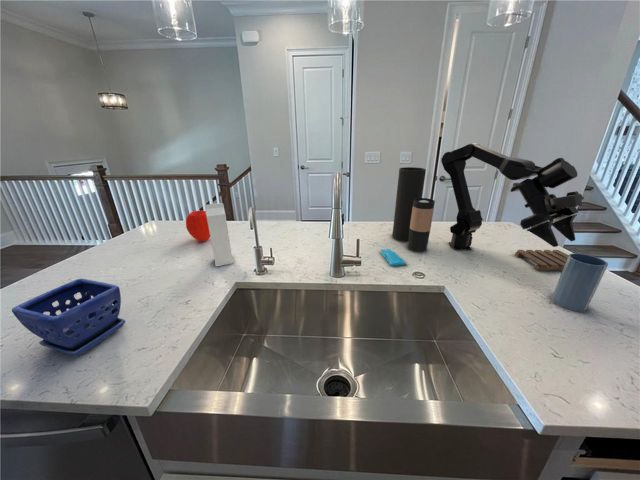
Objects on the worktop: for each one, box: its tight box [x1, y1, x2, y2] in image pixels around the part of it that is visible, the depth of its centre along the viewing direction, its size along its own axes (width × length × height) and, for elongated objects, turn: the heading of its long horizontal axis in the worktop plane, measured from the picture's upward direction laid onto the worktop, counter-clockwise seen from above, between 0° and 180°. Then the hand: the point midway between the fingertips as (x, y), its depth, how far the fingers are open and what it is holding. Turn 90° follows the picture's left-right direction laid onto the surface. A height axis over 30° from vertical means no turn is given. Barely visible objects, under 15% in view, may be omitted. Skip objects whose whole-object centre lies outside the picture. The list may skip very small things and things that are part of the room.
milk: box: [204, 202, 234, 267], centre depth 92 cm, size 6×6×22 cm
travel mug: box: [407, 197, 436, 253], centre depth 101 cm, size 8×8×20 cm
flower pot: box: [11, 278, 126, 357], centre depth 59 cm, size 13×13×12 cm
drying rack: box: [514, 249, 569, 272], centre depth 92 cm, size 16×12×2 cm
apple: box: [185, 210, 211, 242], centre depth 114 cm, size 12×12×13 cm
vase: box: [391, 166, 427, 243], centre depth 111 cm, size 10×10×30 cm
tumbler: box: [551, 252, 609, 312], centre depth 69 cm, size 7×7×14 cm
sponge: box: [380, 248, 406, 267], centre depth 97 cm, size 2×12×6 cm
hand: (564, 243), depth 75 cm, fingers open, 9 cm apart
